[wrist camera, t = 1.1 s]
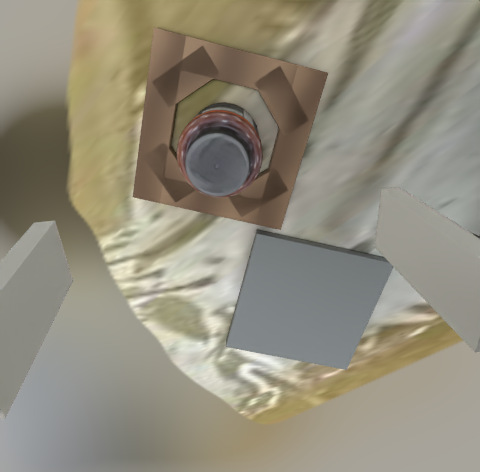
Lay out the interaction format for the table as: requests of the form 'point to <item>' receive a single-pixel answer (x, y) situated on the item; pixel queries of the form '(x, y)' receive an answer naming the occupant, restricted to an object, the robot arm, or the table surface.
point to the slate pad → (306, 300)
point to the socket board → (237, 72)
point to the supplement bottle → (220, 151)
